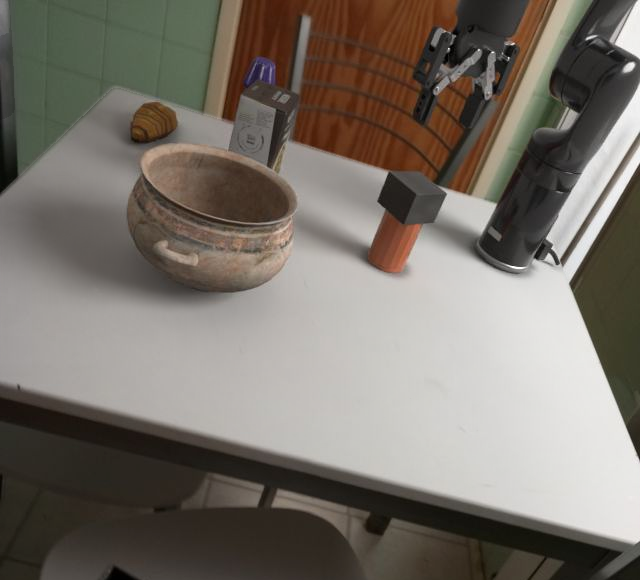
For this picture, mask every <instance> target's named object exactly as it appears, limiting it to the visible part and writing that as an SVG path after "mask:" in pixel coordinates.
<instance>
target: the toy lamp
mask: <svg viewBox="0 0 640 580" xmlns="http://www.w3.org/2000/svg"><path fill="white" fill-rule="evenodd" d="M257 79H259V80H262V81H264V82H267V83H269V84H273V85H276V65H275V62H273V60H271V59H269V58H266V57H263V56H256V57H254V59H253V60H252V63H251V64H250V67H249V69H248V71H247V73H246V74H245V77H244V78H243V81H242V86H243V87H244V88H245V90H246V89H247V88H248V87H249V86H250V85H252V84H253V83H254V82H255V81H256V80H257Z"/></svg>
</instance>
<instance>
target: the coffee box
mask: <svg viewBox="0 0 640 580" xmlns="http://www.w3.org/2000/svg"><path fill="white" fill-rule="evenodd" d="M300 98H301V94H300V93H297V92H295V91H292V90H290V89H287V88H284V87H281V86H279V85H276V84H275V85H273V84H269V83H267V82H264V81H262V80H259V79H257V80H256V81H255V82H254V83H253V84H252V85H250V86H249V87H248V88H247V89H246V88H245V89H244V91H242V92H241V93H240V97H239V99H238V105H237V109H236V113H235V117H234V122H233V127H232V131H231V135H230V139H229V144H228V149H227V150H229V151H232V152H235V153H238V154H241V155H243V156H246V157H248V158H251V159H253V160H255V161H257V162H259V163H261V164H263V165H265V166H266V167H268V168H270V169H271V170H273V171H275V172H276V173H277V174H279V175H280V171H281V167H282V163H283V161H284V157H285V152H286V149H287V144H288V142H289V138H290V135H291V131H292V127H293V124H294V120H295V116H296V113H297V109H298V106H299V101H300Z"/></svg>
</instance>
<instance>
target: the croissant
mask: <svg viewBox="0 0 640 580" xmlns="http://www.w3.org/2000/svg"><path fill="white" fill-rule="evenodd" d="M178 125H179V120H178V117H177V113H176V111H175V110H173V109H172V108H171V107H169V106H167V105H165V104H163V103H161V102H160V101H147V102H143V103H142V104H141V105H140V106H139V107H138V108H137V109H136V110H135V111H134V114H133V115H132V120H131V121H130V123H129V130H130V131H129V132H130V133H129V134H130V141H132V142H133V143H135V144H149V143H155V142H156V141H158V140H162V139H165V138H167V137H168V136H170V135H171V134H172V133H173V132H174V131H176V130H177V128H178V127H179V126H178Z"/></svg>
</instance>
